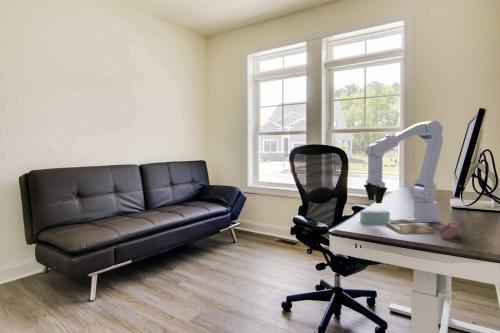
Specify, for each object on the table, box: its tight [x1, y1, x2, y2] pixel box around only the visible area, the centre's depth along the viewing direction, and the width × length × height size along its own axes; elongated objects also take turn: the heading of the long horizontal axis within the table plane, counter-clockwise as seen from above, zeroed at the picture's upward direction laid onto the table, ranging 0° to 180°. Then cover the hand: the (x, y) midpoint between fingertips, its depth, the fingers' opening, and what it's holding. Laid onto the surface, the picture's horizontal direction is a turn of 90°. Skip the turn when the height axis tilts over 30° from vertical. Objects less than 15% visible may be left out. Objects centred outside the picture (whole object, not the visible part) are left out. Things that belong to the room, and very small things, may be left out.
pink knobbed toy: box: [440, 220, 462, 240], centre depth 108 cm, size 10×5×7 cm, turn 148°
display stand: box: [385, 218, 434, 234], centre depth 119 cm, size 13×11×3 cm
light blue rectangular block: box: [359, 209, 391, 225], centre depth 131 cm, size 11×4×5 cm, turn 90°
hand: (374, 201), depth 131 cm, fingers open, 7 cm apart
